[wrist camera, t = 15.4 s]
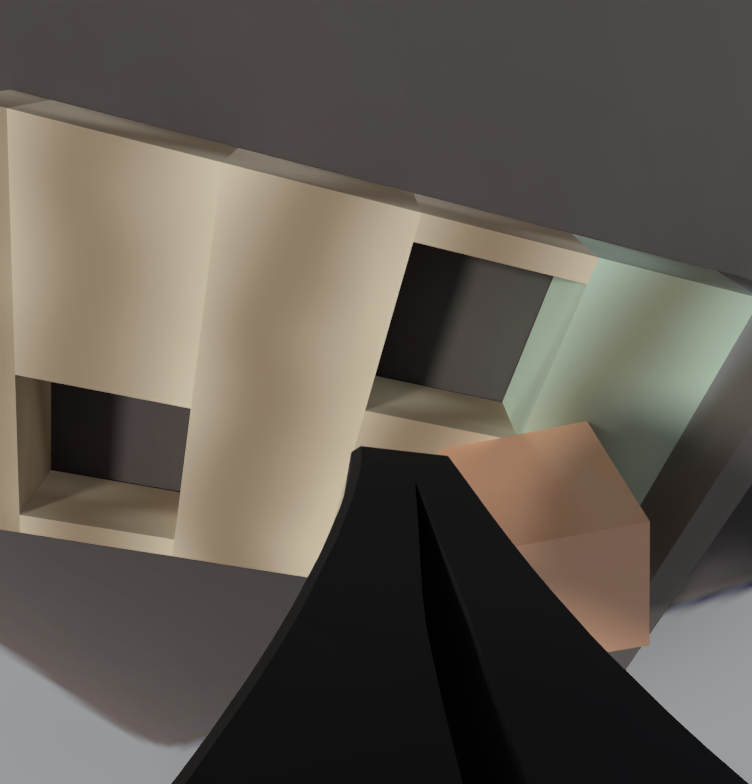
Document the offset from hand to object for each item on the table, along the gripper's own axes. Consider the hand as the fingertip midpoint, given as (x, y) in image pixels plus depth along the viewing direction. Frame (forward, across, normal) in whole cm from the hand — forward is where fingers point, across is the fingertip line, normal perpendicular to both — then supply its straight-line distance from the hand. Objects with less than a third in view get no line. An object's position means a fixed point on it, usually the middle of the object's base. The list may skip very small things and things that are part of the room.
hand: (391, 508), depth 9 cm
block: (+8, -5, +5) cm, 11 cm away
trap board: (+10, 0, +4) cm, 11 cm away
